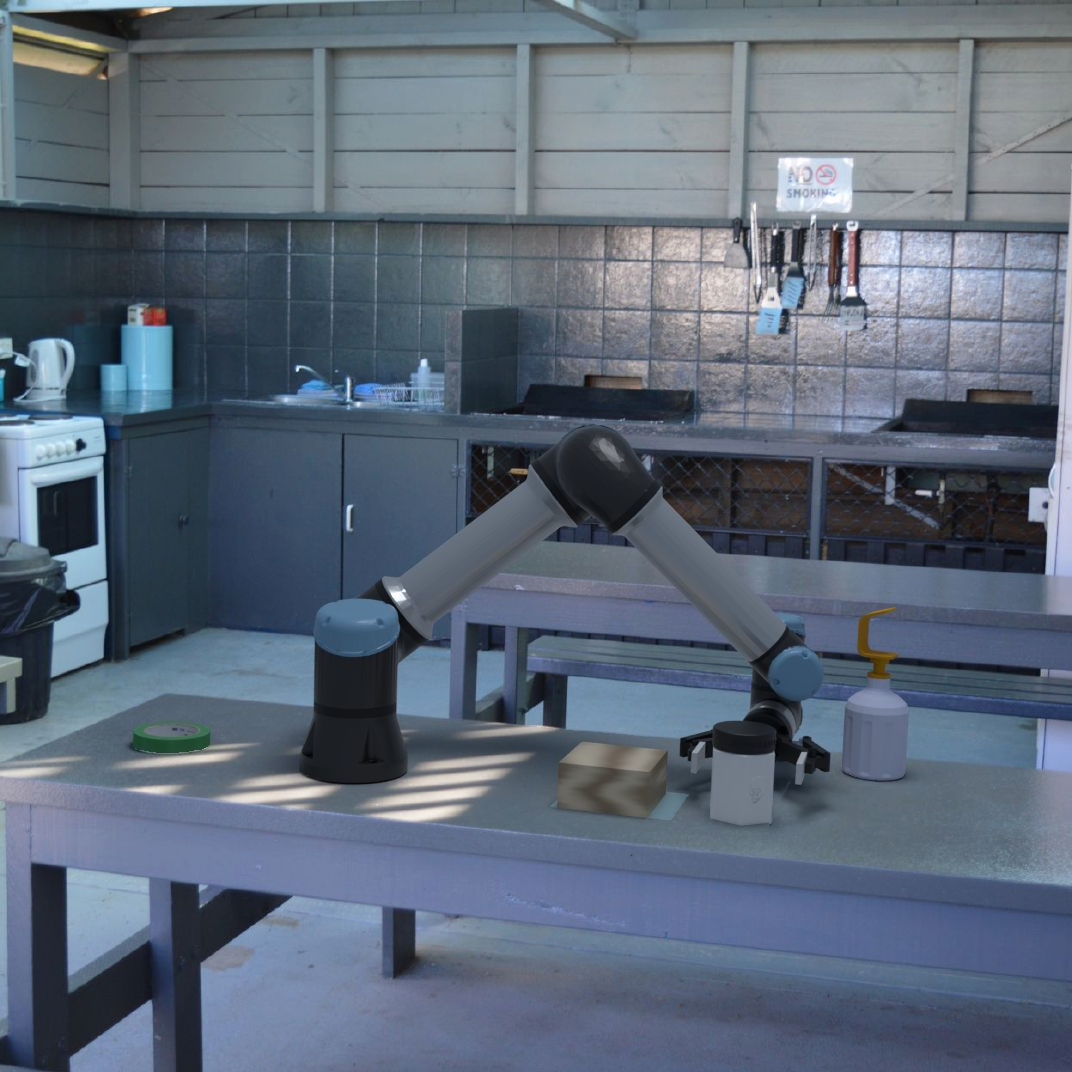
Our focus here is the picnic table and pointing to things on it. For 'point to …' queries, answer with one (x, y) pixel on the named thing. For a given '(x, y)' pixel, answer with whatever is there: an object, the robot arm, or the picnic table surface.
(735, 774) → the jar
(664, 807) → the build board
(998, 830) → the picnic table surface
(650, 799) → the base block
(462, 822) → the picnic table surface
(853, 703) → the soap bottle
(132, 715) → the picnic table surface
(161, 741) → the tape roll
